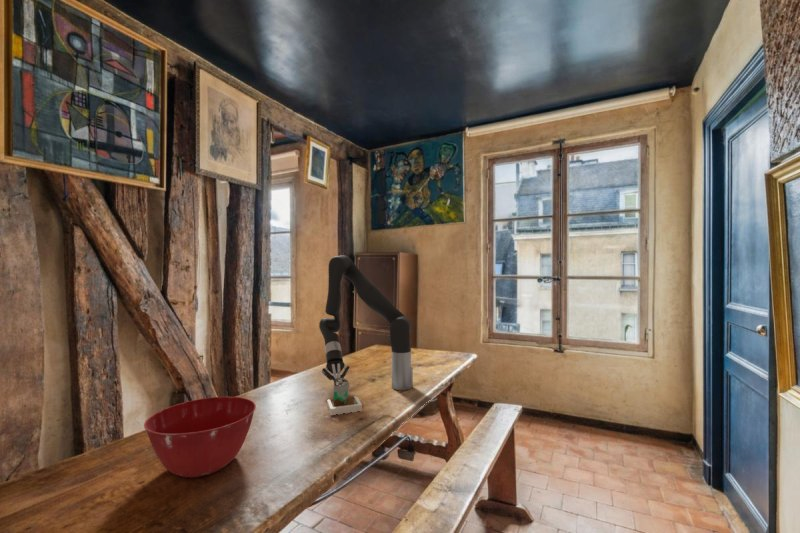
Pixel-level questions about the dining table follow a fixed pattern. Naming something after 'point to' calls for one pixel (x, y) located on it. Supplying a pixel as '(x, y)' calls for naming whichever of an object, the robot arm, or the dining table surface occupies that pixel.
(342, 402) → the food container
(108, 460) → the dining table surface
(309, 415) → the dining table surface
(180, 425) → the mixing bowl
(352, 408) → the bay
